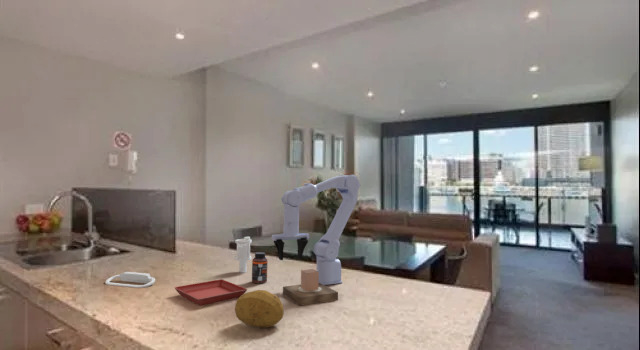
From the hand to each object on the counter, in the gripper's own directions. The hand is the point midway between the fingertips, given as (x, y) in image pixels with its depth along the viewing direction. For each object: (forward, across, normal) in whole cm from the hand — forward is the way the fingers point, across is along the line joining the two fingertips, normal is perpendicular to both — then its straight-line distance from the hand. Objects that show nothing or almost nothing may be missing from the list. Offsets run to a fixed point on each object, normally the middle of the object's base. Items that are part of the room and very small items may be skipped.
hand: (290, 259), depth 137 cm
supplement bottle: (+11, -8, +12) cm, 18 cm away
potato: (+11, -23, -31) cm, 40 cm away
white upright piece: (+11, -9, +31) cm, 34 cm away
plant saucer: (+11, -29, +1) cm, 31 cm away
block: (+8, +1, -14) cm, 16 cm away
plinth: (+10, +1, -14) cm, 17 cm away
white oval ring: (+12, -52, +31) cm, 62 cm away
